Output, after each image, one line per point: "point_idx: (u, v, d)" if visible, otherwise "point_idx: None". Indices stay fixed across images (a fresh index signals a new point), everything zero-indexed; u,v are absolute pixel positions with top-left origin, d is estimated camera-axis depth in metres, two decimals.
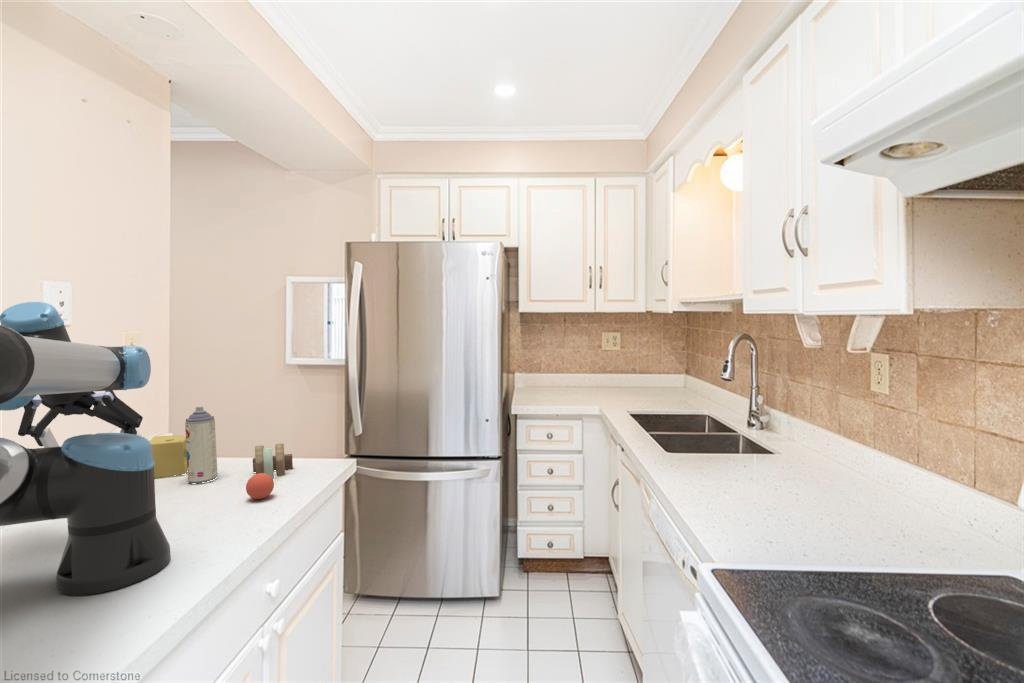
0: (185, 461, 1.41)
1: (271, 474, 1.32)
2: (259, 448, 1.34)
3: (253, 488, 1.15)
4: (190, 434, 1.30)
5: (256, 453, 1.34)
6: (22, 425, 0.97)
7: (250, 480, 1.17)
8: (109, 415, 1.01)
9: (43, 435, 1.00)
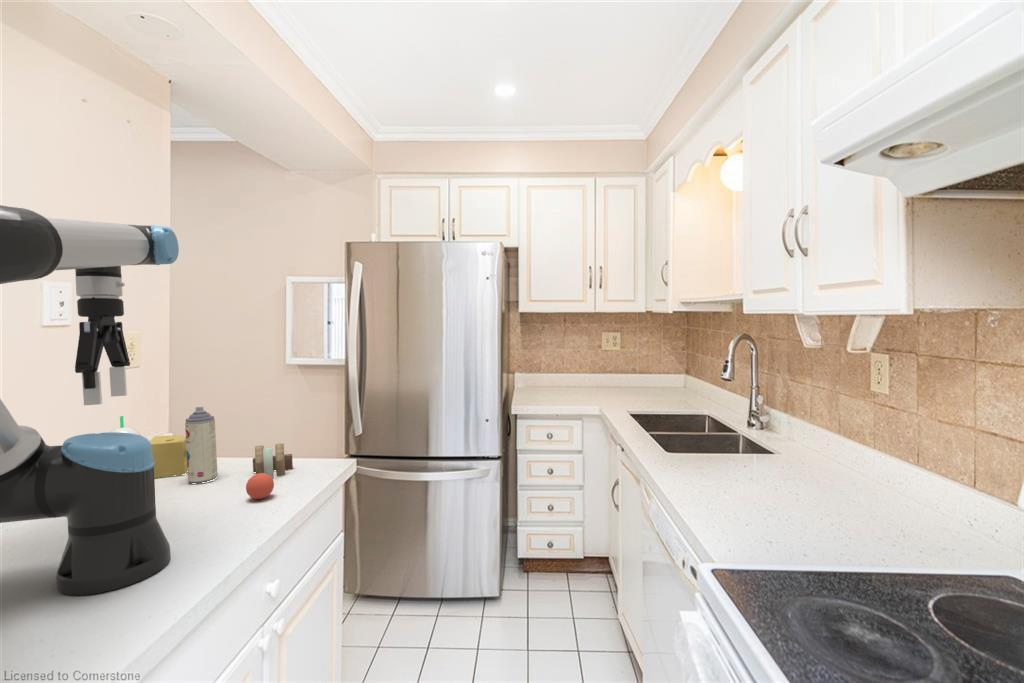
0: (185, 461, 1.41)
1: (271, 474, 1.32)
2: (259, 448, 1.34)
3: (253, 488, 1.15)
4: (190, 434, 1.30)
5: (256, 453, 1.34)
6: None
7: (250, 480, 1.17)
8: None
9: (113, 367, 1.11)
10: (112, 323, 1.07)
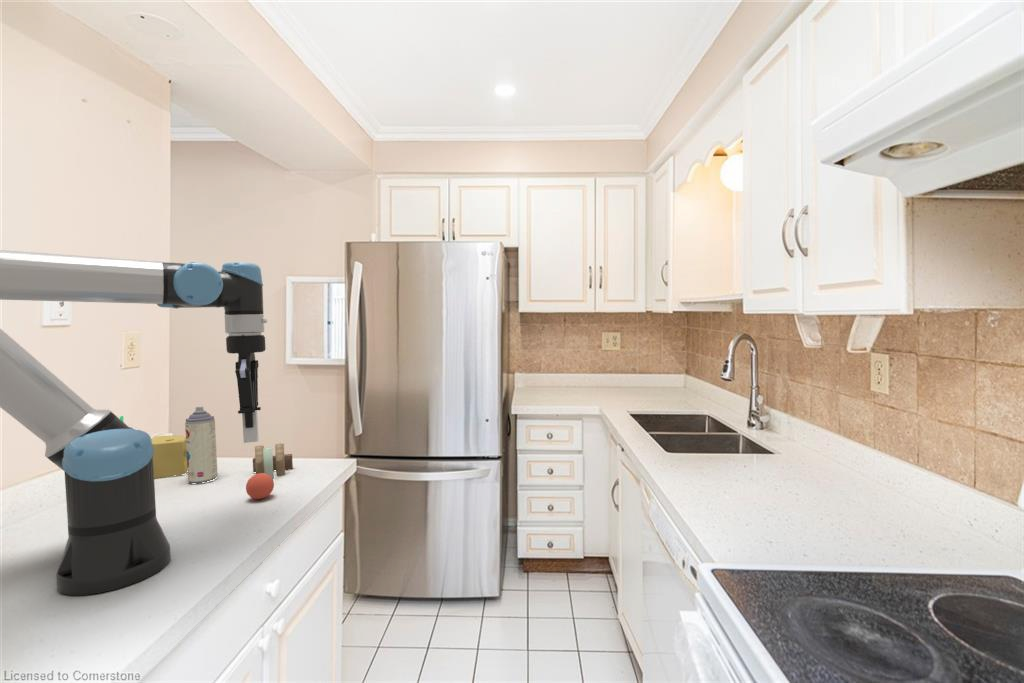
0: (185, 461, 1.41)
1: (271, 474, 1.32)
2: (259, 448, 1.34)
3: (253, 488, 1.15)
4: (190, 434, 1.30)
5: (256, 453, 1.34)
6: None
7: (250, 480, 1.17)
8: None
9: None
10: (254, 355, 1.11)
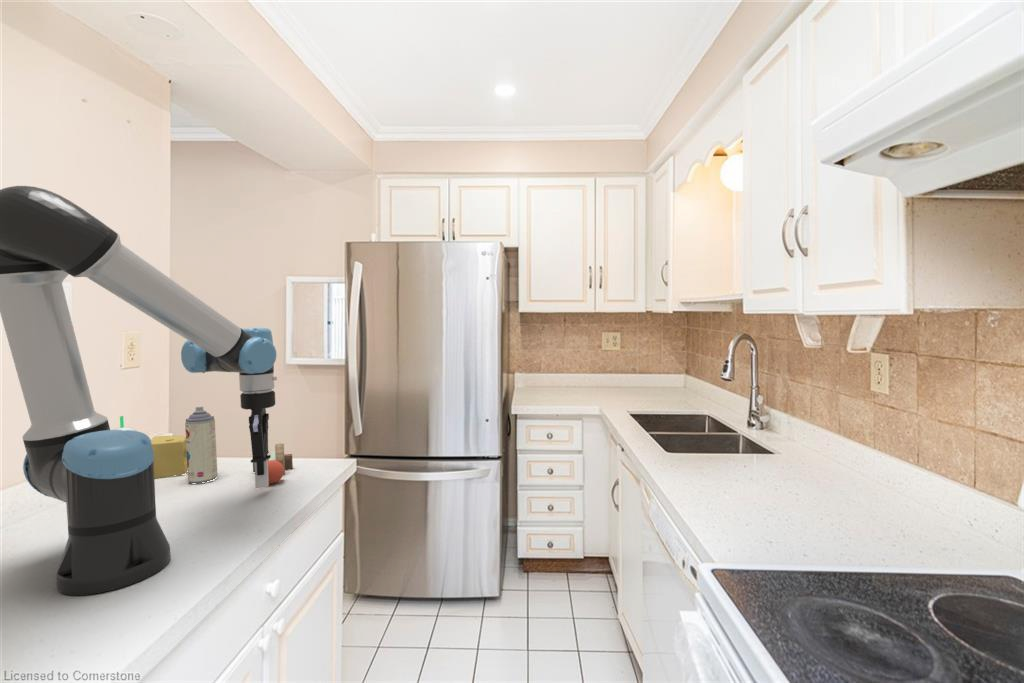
0: (185, 461, 1.41)
1: None
2: None
3: None
4: (190, 434, 1.30)
5: None
6: None
7: None
8: None
9: None
10: (265, 409, 1.23)
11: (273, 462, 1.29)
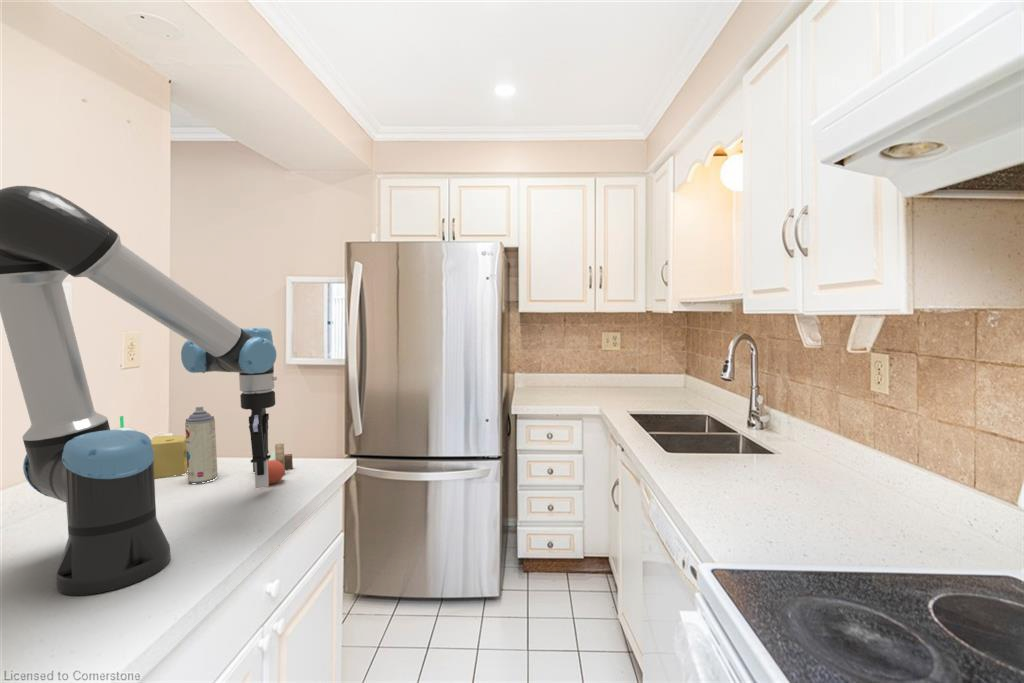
0: (185, 461, 1.41)
1: None
2: None
3: None
4: (190, 434, 1.30)
5: None
6: None
7: None
8: None
9: None
10: (265, 409, 1.23)
11: (274, 462, 1.29)
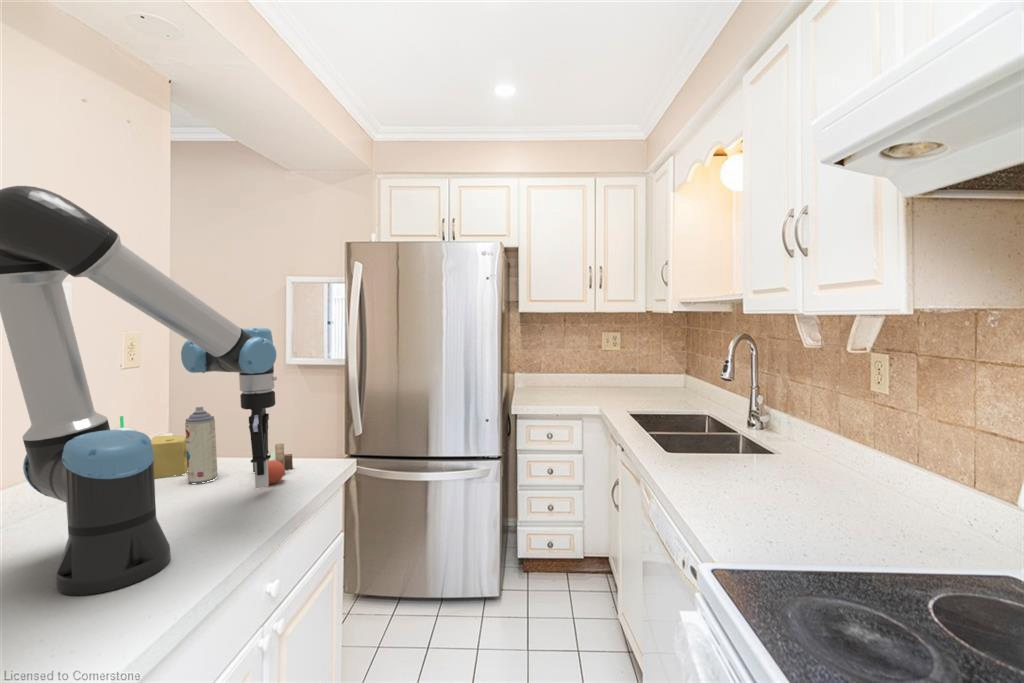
0: (185, 461, 1.41)
1: None
2: None
3: None
4: (190, 434, 1.30)
5: None
6: None
7: None
8: None
9: None
10: (265, 409, 1.23)
11: (274, 462, 1.29)
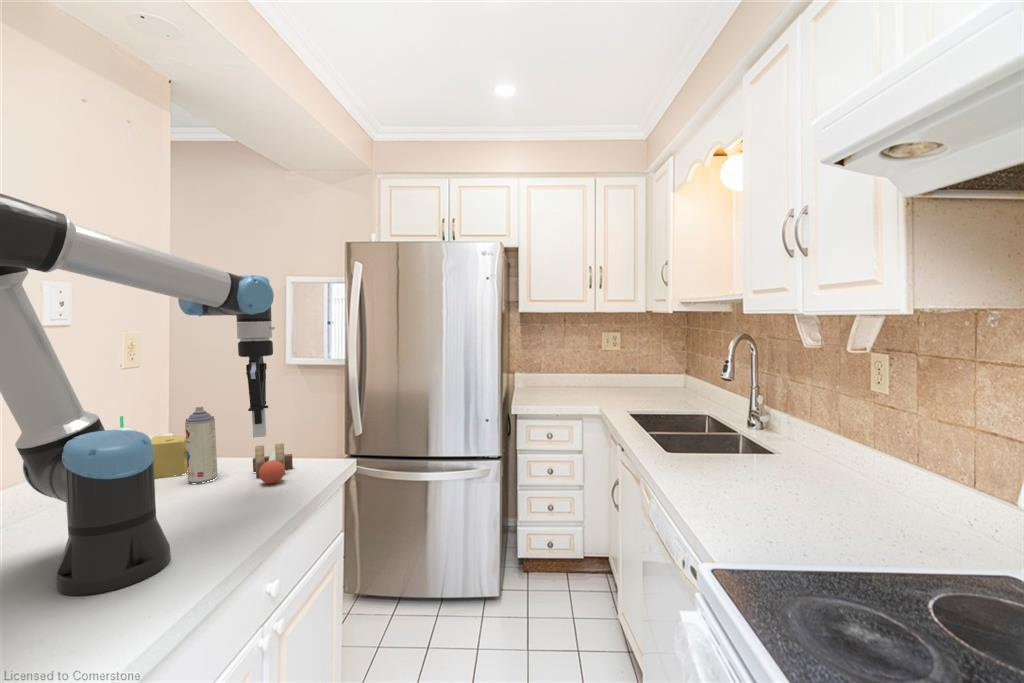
0: (185, 461, 1.41)
1: None
2: (259, 448, 1.34)
3: None
4: (190, 434, 1.30)
5: (256, 453, 1.34)
6: None
7: None
8: None
9: None
10: (262, 359, 1.23)
11: (274, 462, 1.29)
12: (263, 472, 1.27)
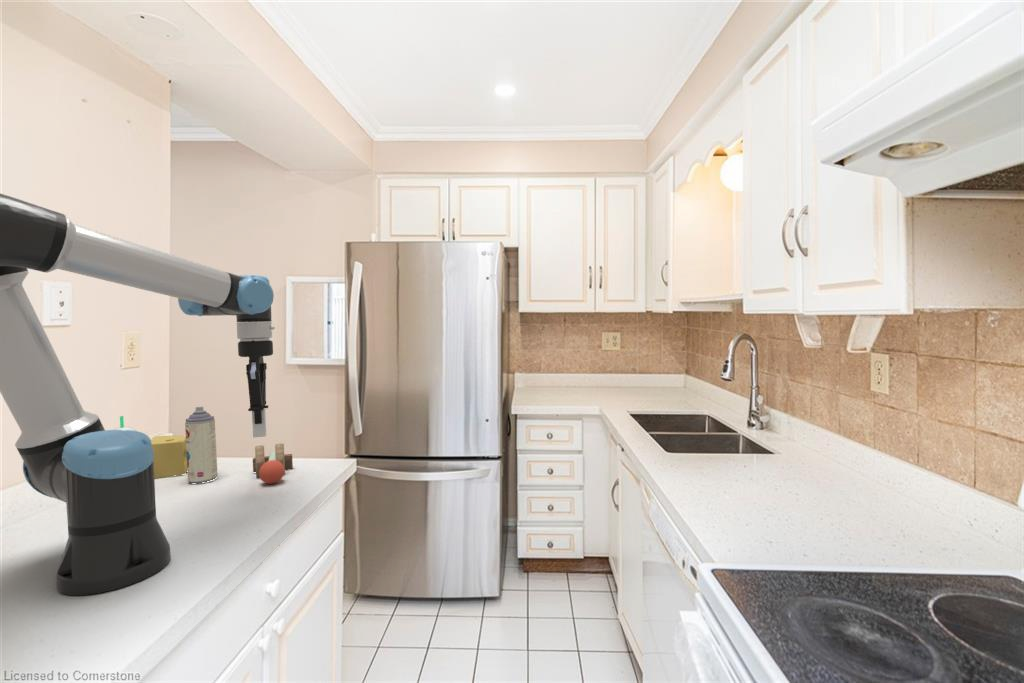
0: (185, 461, 1.41)
1: None
2: (259, 448, 1.34)
3: None
4: (190, 434, 1.30)
5: (256, 453, 1.34)
6: None
7: None
8: None
9: None
10: (262, 359, 1.23)
11: (274, 462, 1.29)
12: (263, 472, 1.27)
